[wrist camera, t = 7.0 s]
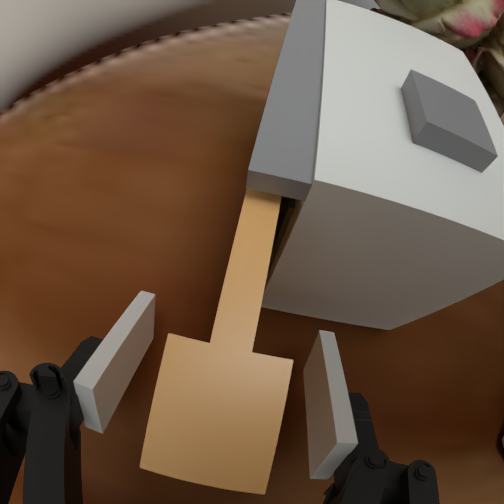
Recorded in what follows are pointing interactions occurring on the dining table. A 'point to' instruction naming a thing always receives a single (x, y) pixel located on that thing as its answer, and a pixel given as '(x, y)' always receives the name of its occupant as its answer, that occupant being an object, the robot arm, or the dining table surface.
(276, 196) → the tan long-handled part
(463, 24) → the rose bouquet
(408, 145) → the box
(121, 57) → the dining table surface
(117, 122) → the dining table surface
